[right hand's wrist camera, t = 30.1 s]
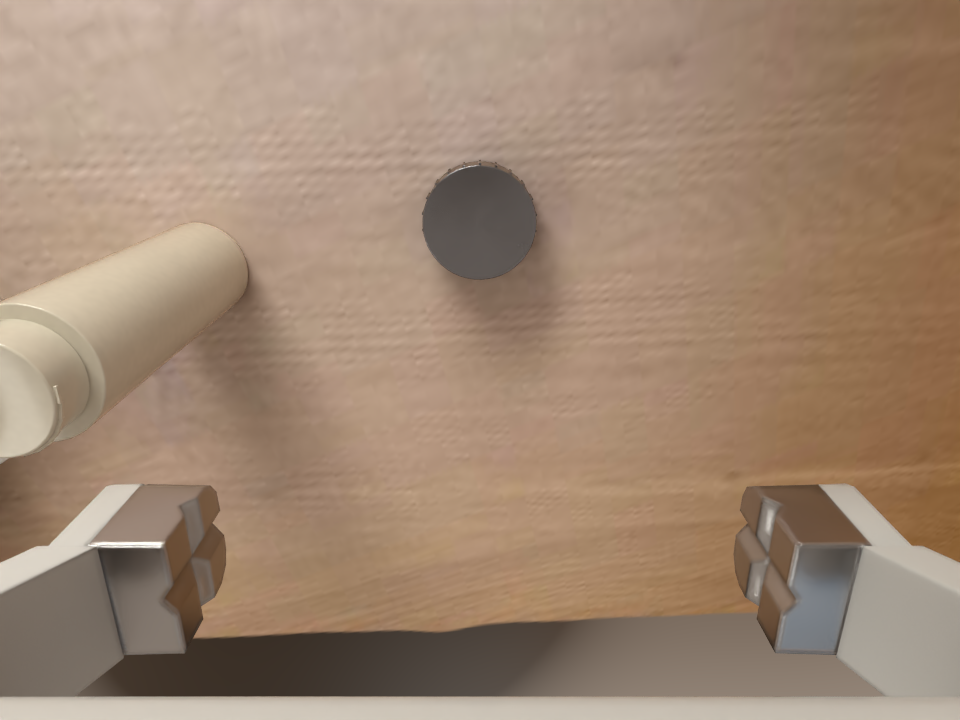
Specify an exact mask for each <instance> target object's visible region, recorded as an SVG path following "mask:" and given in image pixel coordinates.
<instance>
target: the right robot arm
mask: <svg viewBox="0 0 960 720" xmlns="http://www.w3.org/2000/svg"><path fill="white" fill-rule="evenodd" d="M219 511H220V508H219V503H218V498H217V493H216V491H215V490H214V489H213V488H212V487H211V486H208V485H157V484H147V485H144V484H114V485H109V486H106V487H105V488H104V489H103V490H102V491H101V492H100V493H99V494H98V495H97V496H96V497H95V498H94V499H93V501H92V502H91V503H90V504H89V505H88V506H87V507H86V508H85V509H84V510H83V511H82V512H81V513H80V514H79V515H78V516H77V517H76V518H75V519H74V520H73V521H72V522H71V523H70V524H69V525H68V526H67V527H66V528H65V529H64V530H63V531H62V532H61V533H60V534H59V535H58V536H57V537H56V538H55V539H54V540H53V541H52V543H51V544H50V545H49V546H36V547H34V548H32V549H30V550H27V551H25V552H23V553H21V554H18V555H16V556H14V557H12V558H10V559H7V560H5V561H3V562H1V563H0V720H960V563H959V562H957V561H955V560H953V559H950V558H948V557H946V556H944V555H942V554H939V553H937V552H935V551H933V550H930V549H928V548H926V547H924V546H911V545H910V543H909V542H908V541H907V540H906V539H905V538H904V537H903V536H902V535H901V534H900V533H899V532H898V531H897V530H896V529H895V528H894V527H893V526H892V525H891V524H890V523H889V522H888V521H887V520H886V519H885V518H884V517H883V516H882V515H881V514H880V513H879V512H878V511H877V510H876V509H875V508H874V507H873V505H872V504H871V503H870V502H869V501H868V500H867V499H866V498H865V497H864V496H863V495H862V494H861V493H860V492H859V491H858V490H857V489H856V488H855V487H853V486H851V485H848V484H822V485H787V486H752V487H747V488H746V490H745V492H744V494H743V496H742V502H741V508H740V511H741V513H742V515H743V516H744V518H745V519H746V521H747V524H746V525H745V526H744V527H743V529H742V530H741V531H740V532H739V533H738V534H737V535H736V539H735V547H734V564H735V573H736V576H737V580H738V583H739V586H740V588H741V590H742V592H743V594H744V596H745V597H746V598H747V599H749V600H750V601H752V602H753V603H755V604H756V605H758V606H759V609H758V615H757V620H758V622H759V624H760V626H761V628H762V629H763V631H764V633H765V635H766V637H767V639H768V640H769V642H770V644H771V646H772V648H773V650H774V652H775V653H787V654H823V655H837V656H836V658H837V659H839V660H840V661H841V662H842V663H844V664H845V665H846V666H847V667H849V668H850V669H851V670H853V671H854V672H855V673H856V674H858V675H859V676H860V677H861V678H863V679H864V680H865V681H866V682H868V683H869V684H870V685H871V686H873V687H874V688H875V689H876V690H878V691H879V692H880V693H882V694H883V695H884V696H885V697H75V696H76V695H77V694H79V693H80V692H81V691H83V690H84V689H85V688H86V687H88V686H89V685H90V684H91V683H93V682H94V681H95V680H96V679H98V678H99V677H100V676H101V675H103V674H104V673H105V672H107V671H108V670H109V669H110V668H112V667H113V666H114V665H115V664H117V663H118V662H119V661H120V660H122V659H123V658H124V656H123V655H134V654H170V653H185V652H186V650H187V648H188V646H189V644H190V642H191V640H192V639H193V637H194V635H195V633H196V631H197V629H198V628H199V626H200V624H201V622H202V620H203V615H202V609H201V606H202V605H204V604H205V603H207V602H208V601H210V600H211V599H213V598H214V597H215V596H216V594H217V592H218V590H219V588H220V586H221V584H222V580H223V575H224V571H225V566H226V545H225V538H224V535H223V534H222V533H221V532H220V531H219V530H218V529H217V527H216V526H215V525H214V524H213V521H214V519H215V518H216V516H217V515H218V513H219Z"/></svg>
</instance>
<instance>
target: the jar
mask: <svg viewBox="0 0 960 720" xmlns="http://www.w3.org/2000/svg"><path fill="white" fill-rule="evenodd" d="M247 282H248V267H247V263H246V259H245V257H244V254H243V253H242V251H241V249H240V248H239V246H238V245H237V243H236V242H235V241H234V240H233V239H232V238H231V237H230V236H229V235H228V234H226V233H225V232H223V231H222V230H220V229H218V228H216V227H214V226H211V225H208V224H204V223H184V224H181V225H178V226H176V227H173V228H171V229H169V230H166V231H164V232H161V233H159V234H157V235H154V236H152V237H150V238H147V239H145V240H143V241H140V242H138V243H136V244H133V245H131V246H129V247H126V248H124V249H122V250H119V251H117V252H114V253H112V254H110V255H107V256H105V257H103V258H100V259H98V260H96V261H93V262H91V263H89V264H86V265H84V266H82V267H79V268H77V269H75V270H72V271H70V272H68V273H65V274H63V275H60V276H58V277H56V278H53V279H51V280H49V281H46V282H44V283H42V284H39V285H37V286H35V287H32V288H30V289H28V290H25V291H23V292H21V293H18V294H16V295H14V296H11V297H9V298H6V299H4V300H2V301H0V458H13V457H20V456H24V457H25V456H28V455H31V454H34V453H36V452H40V451H42V450H43V449H44V448H46V447H47V446H49V445H50V444H51V443H53V442H55V441H62V440H66V439H70V438H73V437H75V436H78V435H79V434H81V433H83V432H85V431H86V430H87V429H88V428H90V427H91V426H92V425H93V424H94V423H96V422H97V421H98V420H99V419H100V418H102V417H103V416H104V415H105V414H106V413H107V412H109V411H110V410H111V409H112V408H113V407H114V406H116V405H117V404H118V403H119V402H120V401H122V400H123V399H124V398H125V397H126V396H127V395H129V394H130V393H131V392H132V391H133V390H135V389H136V388H137V387H138V386H139V385H140V384H142V383H143V382H144V381H145V380H146V379H148V378H149V377H150V376H151V375H152V374H153V373H155V372H156V371H157V370H158V369H159V368H160V367H162V366H163V365H164V364H165V363H166V362H168V361H169V360H170V359H171V358H172V357H173V356H175V355H176V354H177V353H178V352H179V351H181V350H182V349H183V348H184V347H185V346H186V345H188V344H189V343H190V342H191V341H192V340H194V339H195V338H196V337H197V336H198V335H199V334H201V333H202V332H203V331H204V330H205V329H207V328H208V327H209V326H210V325H211V324H212V323H214V322H215V321H216V320H217V319H218V318H219V317H221V316H222V315H223V314H224V313H225V312H227V311H228V310H229V309H230V308H231V307H232V306H234V305H235V304H236V303H237V302H238V301H239V300H240V299H241V297H242V296H243V294H244V292H245V290H246V286H247Z"/></svg>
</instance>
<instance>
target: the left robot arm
mask: <svg viewBox="0 0 960 720" xmlns="http://www.w3.org/2000/svg"><path fill="white" fill-rule="evenodd" d="M7 459H9V458H0V464H1V463H3V462H5V461H6V460H7Z"/></svg>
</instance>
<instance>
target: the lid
mask: <svg viewBox="0 0 960 720" xmlns="http://www.w3.org/2000/svg"><path fill="white" fill-rule="evenodd" d="M524 185H525V184H524V182H523V181H522V180H521V181H520V180H519V179H518V177H517V176H515V175H514V174H513V173H512V171H511V170H510V169H509V170H508V169H506V168H504V167H502V166H500V165H497V163H496V162H495V164H494V163H490V162H482V161H481V160H479V161H476V162H469V163H465V162H463V164H462V165H459V166H457V167H455V168H453V169H449V170H448V172H447V173H446V174H444V175H443V176H442V177H441V178H440V179H437V181H436V183H435V186H434V188H433V189H432V191H431V193H429V194H428V196H427V198H426V199H427V202H426V204H425V208H424V210H423V212H422V215H423V229H422V230H423V232H424V237H425V241H426V243H427V246H428V248H429V250H430V251H431V253H432V255H433V256H434V257H435V259H436V260H437V261H438V262H439V263H440V264H441V265H442V266H443V267H445V268H446V269H447V270H449V271H451V272H452V273H454V274H456V275H459V276H461V277H465V278H469V279H480V280H482V279H490V278H494V277H498V276H500V275H503V274H505V273H507V272H508V271H510V270H511V269H513V268H514V267H516V266H517V265H518V264H519V263H520V262H521V261H522V260H523V258H524V257H525V256H526V254H527V253H528V251H529V249H530V248H531V245H532V243H533V240H534V236H535V232H536V216H537V214H536V212H535V209H534V205H533V202H532V200H533V198H532V196H531V194H528V192H527V190H526V188H525V186H524Z"/></svg>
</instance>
